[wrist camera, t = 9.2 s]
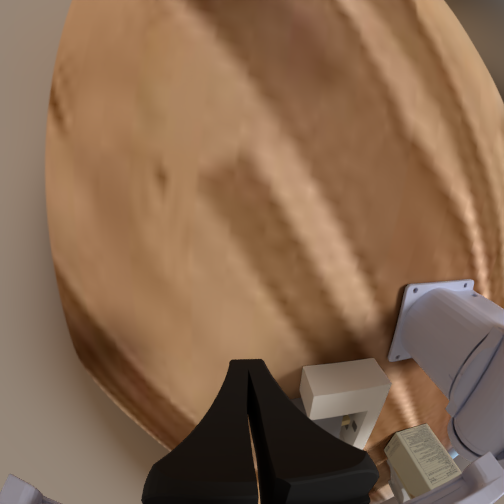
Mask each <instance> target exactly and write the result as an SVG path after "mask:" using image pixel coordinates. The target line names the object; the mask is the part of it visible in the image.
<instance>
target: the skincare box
mask: <svg viewBox="0 0 504 504" xmlns="http://www.w3.org/2000/svg"><path fill="white" fill-rule="evenodd" d="M384 452H385V454H386V455H387V457H388V459H389V461H390V463H391V465H392V466H393V468H394V470H395V472H396V474H397V476H398V478H399V479H400V481H401V483H402V485H403V487H404V489H405V491H406V492H407V494H408V496H409V498H410V499H413V498H415V497H417V496H420V495H422V494H424V493H426V492H428V491H430V490H432V489H434V488H436V487H438V486H440V485H442V484H444V483H446V482H448V481H450V480H452V479H453V478H455V477H457V476H459V475H460V474H462V472H461V471H460V470H459V468H458V467H457V465H456V464H455V462H454V461H453V459H452V458H451V456H450V455H449V454H448V452H447V451H446V449H445V448H444V447H443V445H442V444H441V442H440V441H439V440H438V438H437V437H436V436H435V434H434V433H433V431H432V430H431V429H430V427H429V426H428V425H427V424H423V425H420V426H417V427H413V428H410V429H406V430H403V431H400V432H396V433H395V434H394V436H393V437H392V439H391V440H390V442H389V443H388V444H387V446H386V447H385V449H384Z"/></svg>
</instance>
